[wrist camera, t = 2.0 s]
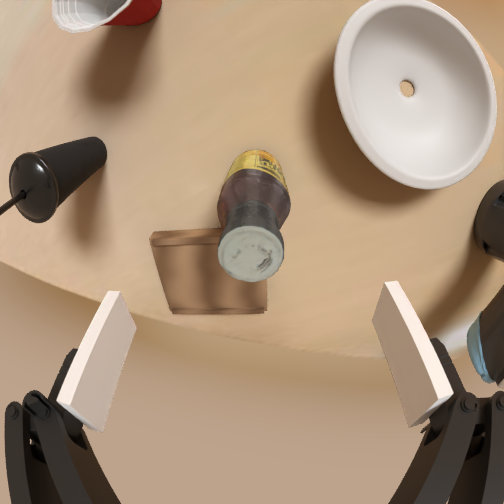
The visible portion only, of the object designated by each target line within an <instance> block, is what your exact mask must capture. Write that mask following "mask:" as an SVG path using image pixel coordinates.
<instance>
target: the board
mask: <svg viewBox="0 0 504 504" xmlns="http://www.w3.org/2000/svg"><path fill="white" fill-rule="evenodd" d="M222 232H223V228H214V229H194V230H175V231H159V232H153V234H152V235H151V237H150V238H149V240H150V243H151V247H152V251H153V255H154V258H155V262H156V265H157V269H158V272H159V276H160V279H161V282H162V286H163V289H164V292H165V295H166V298H167V301H168V304H169V308H170V311H172V313H173V314H261V313H264V311H267V279H265V280H261V281H258V282H246V281H243V280H237V279H235V278H233V277H231V276H230V275H228V274H227V273H226V271H225V270H224V269H223V268H222V267H221V265H220V263H219V260H218V256H217V249H218V243H219V239H220V236H221V233H222Z"/></svg>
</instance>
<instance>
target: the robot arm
mask: <svg viewBox="0 0 504 504" xmlns="http://www.w3.org/2000/svg"><path fill="white" fill-rule="evenodd" d="M474 236H475V241H476V243H477V245H478V247H479V248H480V249H481V250H482V251H483V252H484V253H485V254H487V255H488V256H491V257H493V258H495V259H497V260H499V261H502V262H504V180H502V181H500V182H498V183H496V184H495V185H494V186H493V187H492V188H491V189H490V190H489V191H488V193H487V194H486V195H485V197H484V199H483V201H482V203H481V205H480V207H479V210H478V213H477V216H476V220H475V227H474ZM372 322H373V325H374V327H375V330H376V332H377V335H378V337H379V340H380V343H381V345H382V348H383V351H384V353H385V356H386V359H387V362H388V364H389V367H390V370H391V373H392V376H393V379H394V382H395V385H396V388H397V391H398V394H399V397H400V400H401V404H402V407H403V410H404V414H405V417H406V421H407V424H408V427H413V426H416V425H418V424H422V423H423V422H425V421H426V420H427V419H428V418H429V419H430V423H429V424H428V425H427V426H426V427H425V428H423V430H422V431H421V433H423V432H424V431H426V432H425V434H424V437H423V439H422V442H421V444H420V446H419V448H418V450H417V452H416V455H415V457H414V459H413V461H412V463H411V465H410V467H409V469H408V471H407V473H406V474H405V476H404V478H403V480H402V482H401V484H400V485H399V487H398V489H397V491H396V492H395V494H394V495H393V497H392V499H391V500H390V502H389V503H388V504H446V502H447V500H448V498H449V501H448V504H503V502H504V392H503V391H498V392H496V393H495V394H494V395H493V396H492V397H489V398H476V396H475V395H473V394H472V393H469V392H466V391H465V389H464V387H463V384H462V382H461V380H460V378H459V375H458V373H457V371H456V369H455V367H454V365H453V363H452V360H451V358H450V356H448V355H449V354H448V352H447V350H446V348H445V346H444V345H443V344H442V343H441V342H440V341H439V340H438V339H437V338H433V339H429V338H428V336H427V334H426V332H425V330H424V328H423V326H422V324H421V322H420V320H419V318H418V317H417V315H416V313H415V311H414V309H413V307H412V306H411V304H410V302H409V300H408V298H407V297H406V295H405V293H404V291H403V290H402V288H401V286H400V285H399V283H398V281H391V282H384V285H383V288H382V292H381V295H380V298H379V301H378V304H377V307H376V310H375V313H374V316H373V319H372ZM136 329H137V327H136V325H135V323H134V321H133V319H132V317H131V315H130V312H129V310H128V308H127V306H126V303H125V301H124V299H123V296H122V294H121V292H120V291H108V292H107V294H106V296H105V298H104V300H103V301H102V303H101V305H100V307H99V309H98V311H97V313H96V315H95V316H94V318H93V320H92V322H91V324H90V326H89V328H88V330H87V332H86V334H85V336H84V338H83V340H82V342H81V344H80V347H79V349H72V350H71V351H70V352H69V354H68V355H67V356H66V358H65V360H64V362H63V366H62V367H61V369H60V371H59V374H58V375H57V378H56V380H55V383H54V385H53V387H52V390H51V392H50V394H49V397H48V399H47V398H46V397H45V396H44V395H43V394H41V393H40V392H39V391H36V390H33V391H30V392H29V393H27V395H26V396H25V397H24V400H23V403H22V405H21V404H20V403H18V402H15V401H14V402H11V403H10V404H9V405H8V406H7V408H6V411H5V457H6V469H7V478H8V485H9V492H10V498H11V503H12V504H121V503H120V501H119V499H118V498H117V496H116V494H115V493H114V491H113V489H112V488H111V486H110V484H109V482H108V480H107V478H106V477H105V475H104V473H103V471H102V469H101V467H100V465H99V463H98V461H97V459H96V457H95V455H94V452H93V450H92V448H91V446H90V443H89V441H88V439H87V436H86V434H85V432H84V430H83V429H82V427H83V424H84V425H85V426H87V427H88V428H89V429H92V430H95V431H99V432H102V433H103V431H104V427H105V423H106V420H107V416H108V413H109V409H110V406H111V402H112V399H113V396H114V393H115V389H116V386H117V383H118V380H119V377H120V374H121V371H122V368H123V365H124V362H125V359H126V356H127V353H128V350H129V348H130V345H131V342H132V339H133V336H134V334H135V331H136ZM467 348H468V352H469V355H470V358H471V361H472V363H473V365H474V368H475V369H476V371H477V373H478V374H479V375H480V376H481V378H482V380H483V381H485V382H487V383H492V382H495V381H496V383H497V385H498V387H499V388H504V285H503V286H502V288H501V289H500V290H499V292H498V293H497V294H496V296H495V297H494V298H493V299H492V301H491V302H490V303H489V304H488V306H487V307H486V308H485V309H484V310H483V311H482V312H481V313H480V314H479V316H478V318H477V319H476V320H475V322H474V323H473V324H472V325H471V327H470V328H469V330H468V333H467ZM30 439H31V440H32V443H31V444H30ZM449 496H450V497H449Z"/></svg>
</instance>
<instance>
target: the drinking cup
mask: <svg viewBox="0 0 504 504" xmlns="http://www.w3.org/2000/svg"><path fill="white" fill-rule="evenodd" d="M106 157H107V150H106V147H105V144H104V143H103V141H102V140H100V139H99V138H97V137H88V138H84V139H79V140H75V141H72V142H68V143H64V144H60V145H57V146H53V147H50V148H47V149H43V150H40V151H37V152H27V153H24V154H22V155H20V156H19V157H17V158H16V160H15V161H14V163H13V164H12V167H11V170H10V174H9V188H10V193H11V196H12V199H11V200H9V201H8V202H6V203H5V204H4V205H2V206H1V207H0V215H2V214H3V213H4V212H6V211H7V210H8V209H9V208H11V207H12V206H13V205H15V206H16V207H17V209H18V210H19V212H20V213H21V214H22V215H23V216H24V217H25V218H26V219H28V220H29V221H31V222H34V223H43V222H46V221H47V220H49V219H50V218H51V217H52V216H53V215H54V213H55V211H56V209H57V207H58V206H59V205H60V204H61V203H62V202H63V201H64V200H65V199H66V198H67V197H68V196H70V195H71V194H72V193H73V192H74V191H75V190H76V189H77V188H78V187H79V186H80V185H81V184H82V183H83V182H84V181H85V180H87V179H88V178H89V177H90V176H91V175H92V174H93V173H94V172H96V171H97V170H98V169H99V168H100V167H101V166H102V165H103V164H104V163H105V161H106Z"/></svg>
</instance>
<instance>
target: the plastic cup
mask: <svg viewBox="0 0 504 504" xmlns="http://www.w3.org/2000/svg"><path fill="white" fill-rule="evenodd" d="M161 4H162V0H52V16H53V19H54V21H55V22H56V24H57V25H58V27H59V28H60V29H62V30H65V31H67V32H70V33H79V32H86V31H91V30H93V29H95V28H97V27H99V26H101V25H127V26H131V25H140V24H143V23H145V22H147V21H149V20H150V19H152V18H153V17H154V16H155V15H156V14H157V12H158V11H159V10H160V7H161Z"/></svg>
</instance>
